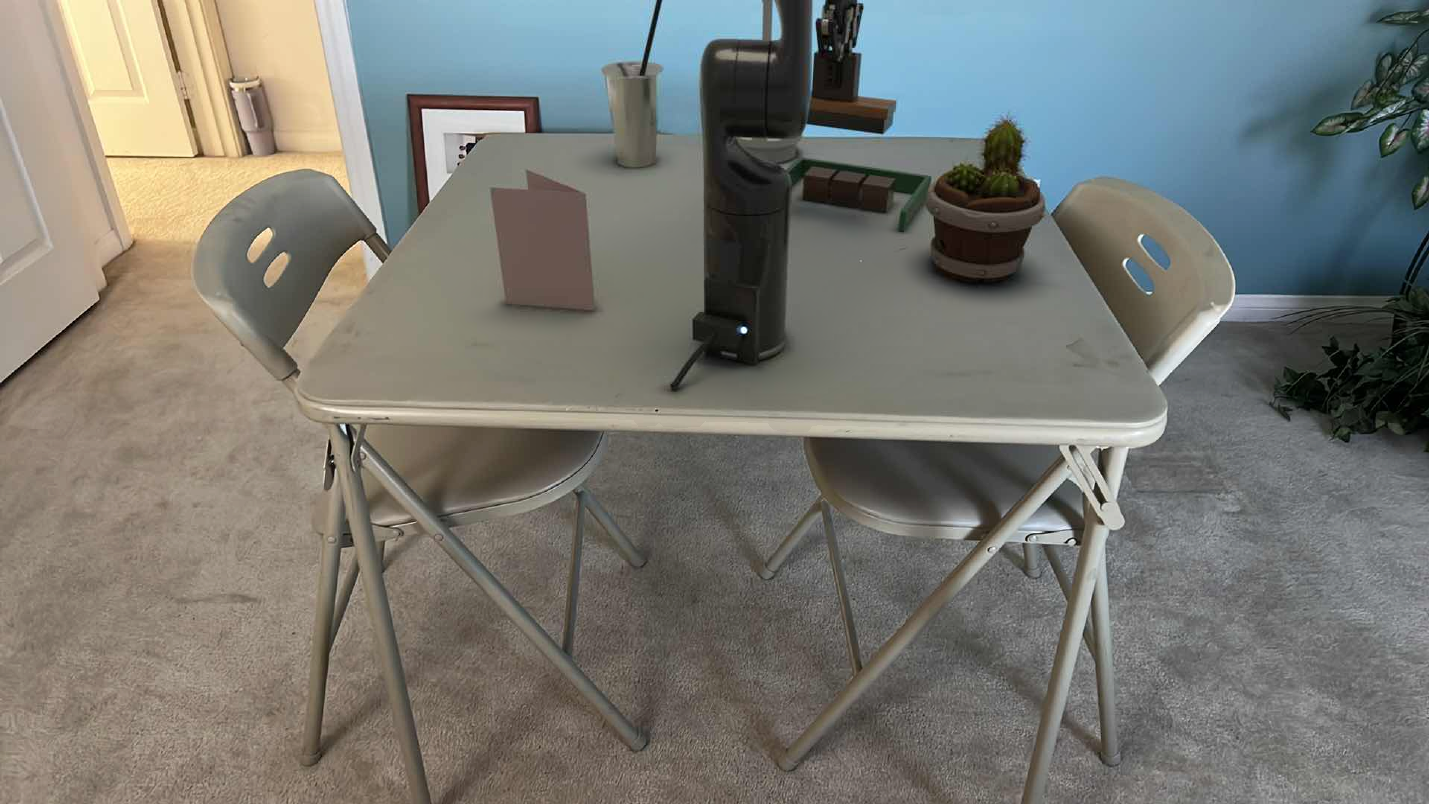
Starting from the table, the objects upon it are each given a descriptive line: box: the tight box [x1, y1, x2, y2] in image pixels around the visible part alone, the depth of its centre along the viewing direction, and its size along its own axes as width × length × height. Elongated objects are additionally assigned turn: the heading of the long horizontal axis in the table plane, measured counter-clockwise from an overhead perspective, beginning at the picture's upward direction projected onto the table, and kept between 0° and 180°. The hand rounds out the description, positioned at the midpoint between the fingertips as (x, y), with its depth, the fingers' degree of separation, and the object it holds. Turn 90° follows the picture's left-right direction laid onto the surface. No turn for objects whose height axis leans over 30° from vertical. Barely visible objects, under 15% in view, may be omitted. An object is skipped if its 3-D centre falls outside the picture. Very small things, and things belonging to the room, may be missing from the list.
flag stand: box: [736, 0, 803, 164], centre depth 155 cm, size 13×13×30 cm
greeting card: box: [489, 168, 596, 312], centre depth 112 cm, size 11×7×15 cm, turn 45°
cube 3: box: [802, 167, 837, 204], centre depth 145 cm, size 4×4×4 cm
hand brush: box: [806, 50, 898, 135], centre depth 130 cm, size 5×17×10 cm, turn 65°
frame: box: [785, 156, 932, 232], centre depth 143 cm, size 16×22×3 cm
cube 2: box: [830, 171, 866, 209], centre depth 143 cm, size 4×4×4 cm
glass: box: [600, 0, 665, 169], centre depth 152 cm, size 11×11×30 cm
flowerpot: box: [925, 109, 1046, 284], centre depth 119 cm, size 14×15×20 cm
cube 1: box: [860, 175, 896, 213], centre depth 141 cm, size 4×4×4 cm
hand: (835, 85), depth 130 cm, fingers closed on hand brush, 2 cm apart
